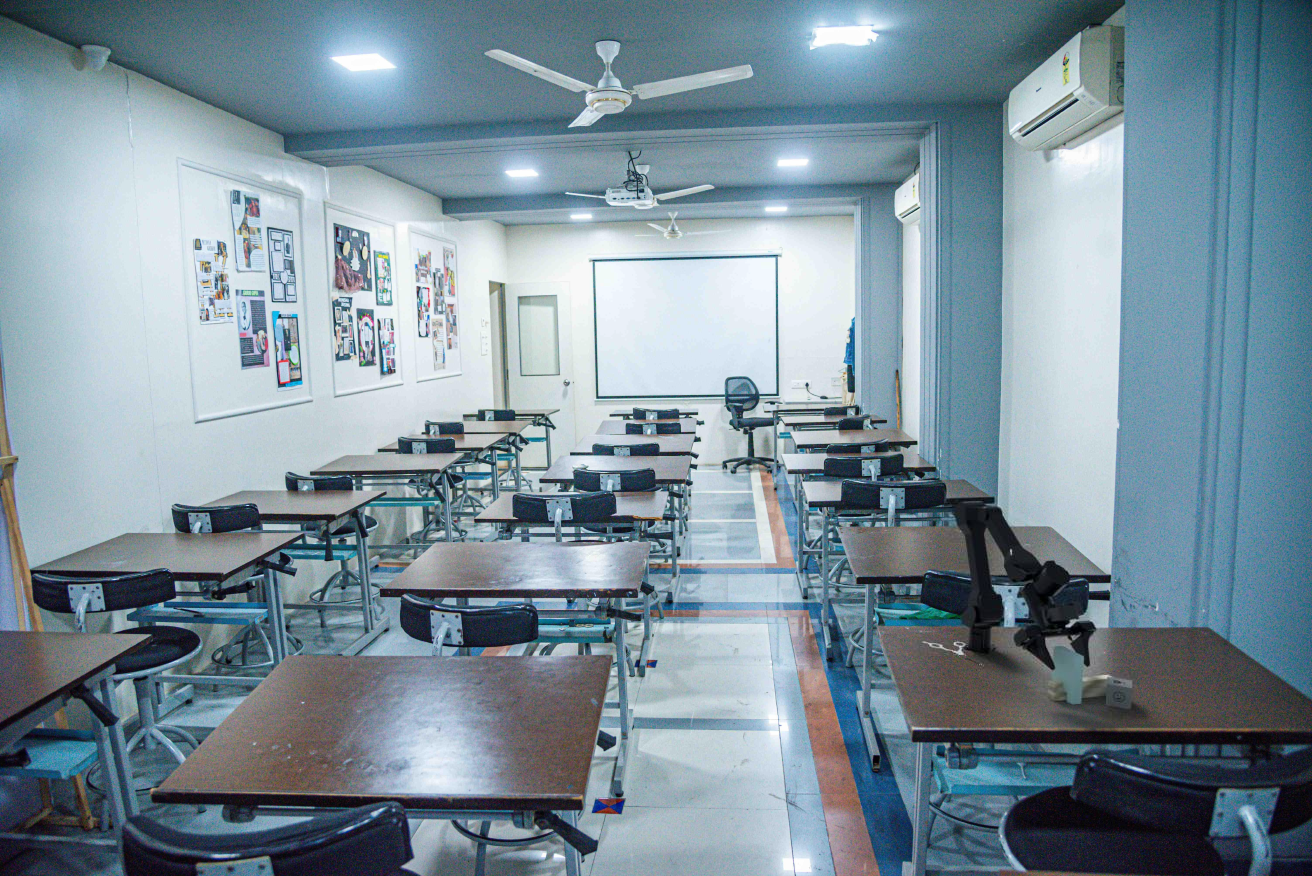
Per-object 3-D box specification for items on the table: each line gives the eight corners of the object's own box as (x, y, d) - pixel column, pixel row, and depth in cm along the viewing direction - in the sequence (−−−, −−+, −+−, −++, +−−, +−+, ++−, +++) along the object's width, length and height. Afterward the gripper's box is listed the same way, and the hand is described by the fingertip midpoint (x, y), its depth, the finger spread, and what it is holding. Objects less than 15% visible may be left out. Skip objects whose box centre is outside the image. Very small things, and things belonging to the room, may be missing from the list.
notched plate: (1051, 692, 201) (1053, 646, 200) (1060, 691, 202) (1062, 645, 200) (1071, 704, 194) (1074, 657, 193) (1081, 703, 195) (1084, 656, 194)
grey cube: (1105, 697, 199) (1107, 676, 198) (1130, 701, 196) (1132, 680, 196) (1105, 705, 194) (1107, 684, 194) (1131, 709, 192) (1132, 688, 191)
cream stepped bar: (1053, 701, 196) (1054, 684, 196) (1047, 697, 198) (1048, 680, 198) (1113, 694, 200) (1114, 677, 200) (1106, 691, 202) (1107, 674, 201)
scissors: (958, 639, 236) (999, 665, 216) (958, 642, 236) (999, 668, 217) (922, 641, 234) (960, 668, 215) (922, 644, 234) (960, 671, 215)
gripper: (1024, 592, 197) (1054, 655, 188) (1093, 587, 202) (1126, 649, 192) (1000, 615, 206) (1028, 677, 196) (1068, 609, 210) (1098, 670, 201)
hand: (1071, 667), depth 196 cm, fingers open, 9 cm apart
